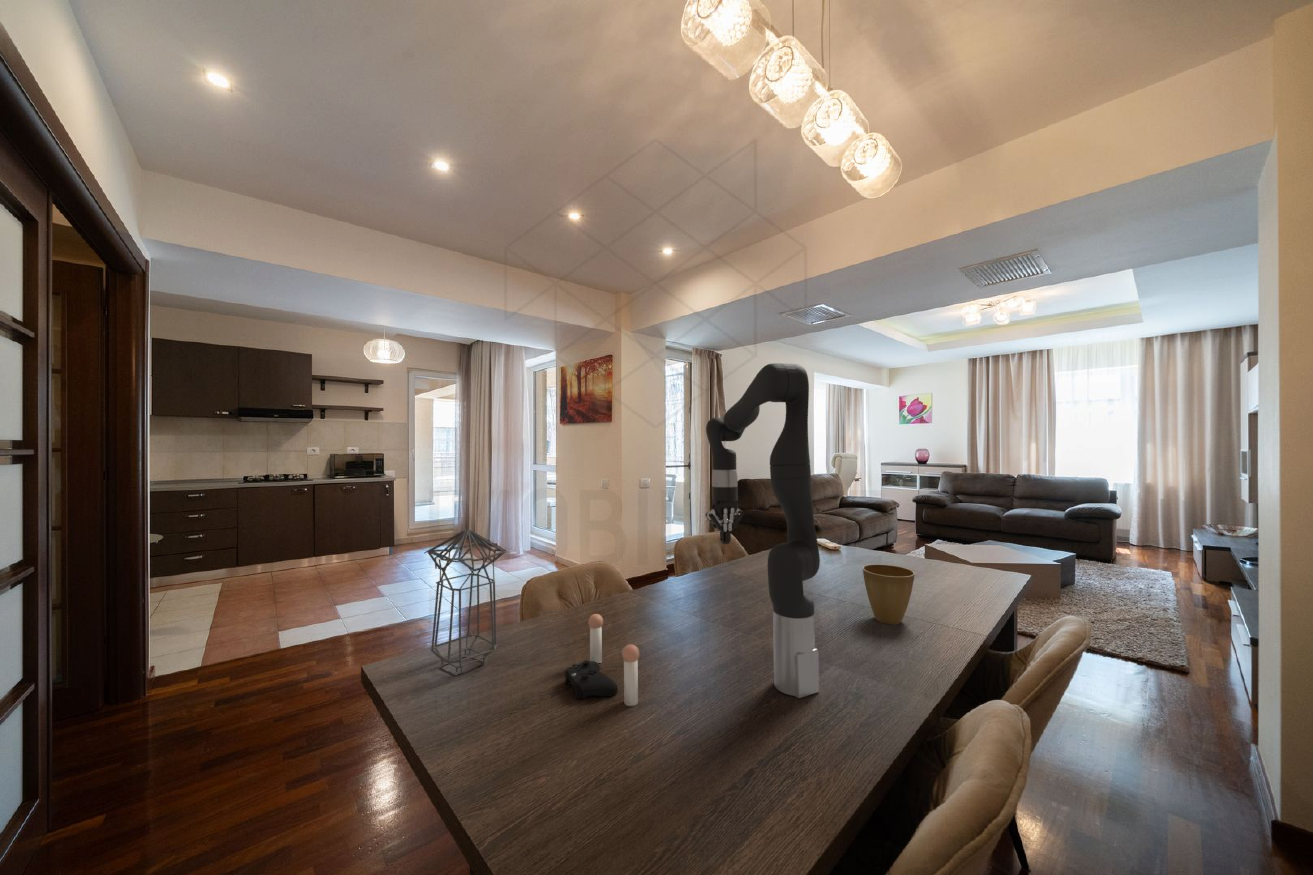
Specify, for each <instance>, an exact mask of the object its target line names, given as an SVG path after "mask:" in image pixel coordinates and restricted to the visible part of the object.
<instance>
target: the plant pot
mask: <svg viewBox="0 0 1313 875" xmlns="http://www.w3.org/2000/svg"><path fill="white" fill-rule="evenodd" d="M862 573H863V574H862V575H863V580H864V585H865V591H866V594H867V598H868V601H869V604H870V608H871V610H872V614H873V615H874V616H873V617H874V618H875V620H876V621H878V622H880V623H883V624H886V625H900V624H901V623H902V621H903V619H904V617H905V614H906V612H907V609H908V606H909V602H910V598H911V596H912V591H913V585H914V580H915V575H916V574H915V572H914V571H913V569H911V568H910V569H909V568H906V567H903V566H899V565H892V564H891V565H890V564H880V563H879V564H878V563H876V564H875V563H874V564H872V563H871V564H866V565H863V567H862Z"/></svg>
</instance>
